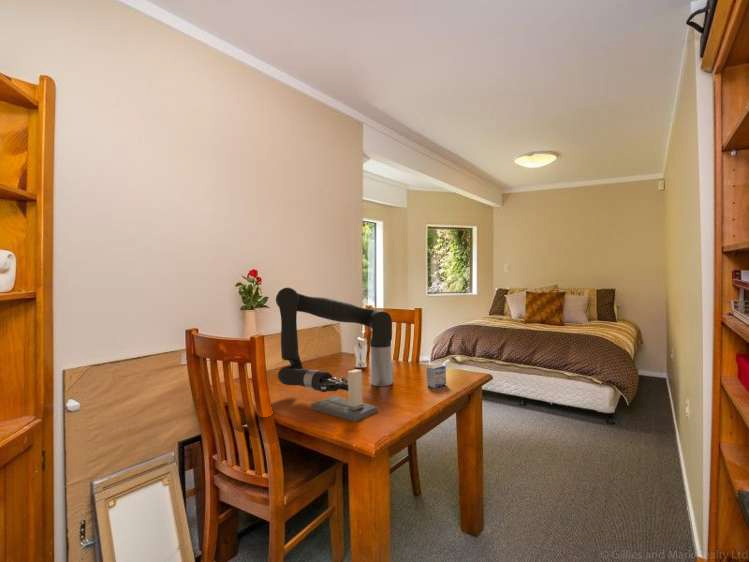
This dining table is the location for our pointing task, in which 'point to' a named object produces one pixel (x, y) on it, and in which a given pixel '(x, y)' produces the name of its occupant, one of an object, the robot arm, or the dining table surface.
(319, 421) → the dining table surface
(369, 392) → the dining table surface
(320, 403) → the fader board
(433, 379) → the medicine box
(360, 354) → the beer glass
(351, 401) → the beige tall block
